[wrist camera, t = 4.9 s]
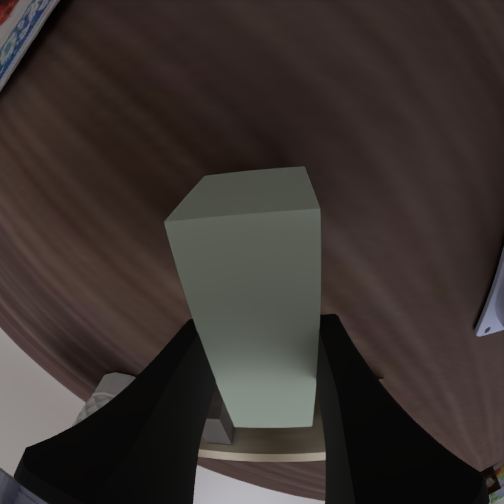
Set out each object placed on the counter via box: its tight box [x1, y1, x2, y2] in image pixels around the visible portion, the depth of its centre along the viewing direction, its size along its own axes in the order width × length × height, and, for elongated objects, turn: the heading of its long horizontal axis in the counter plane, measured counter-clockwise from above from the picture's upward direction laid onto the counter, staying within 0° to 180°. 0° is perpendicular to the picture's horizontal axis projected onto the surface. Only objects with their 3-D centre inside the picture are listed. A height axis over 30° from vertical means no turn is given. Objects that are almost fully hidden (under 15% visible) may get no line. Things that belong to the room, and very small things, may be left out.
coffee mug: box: [481, 466, 501, 495], centre depth 37 cm, size 12×9×10 cm
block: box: [164, 166, 321, 428], centre depth 10 cm, size 4×10×4 cm, turn 7°
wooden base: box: [198, 379, 387, 462], centre depth 15 cm, size 14×5×5 cm, turn 97°
